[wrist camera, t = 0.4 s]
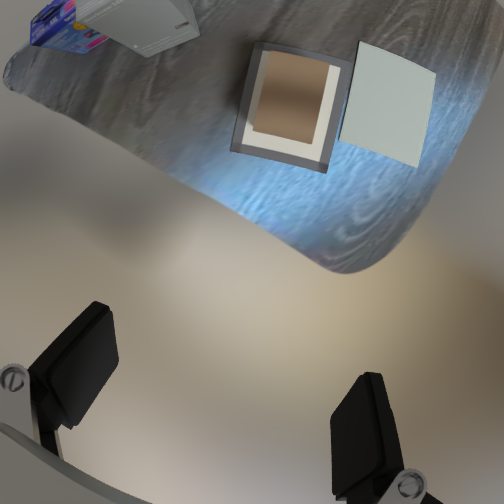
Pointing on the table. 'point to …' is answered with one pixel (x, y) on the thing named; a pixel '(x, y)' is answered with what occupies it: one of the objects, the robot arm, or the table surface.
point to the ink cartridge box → (63, 29)
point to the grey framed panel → (282, 148)
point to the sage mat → (388, 105)
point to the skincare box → (140, 22)
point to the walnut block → (291, 97)
